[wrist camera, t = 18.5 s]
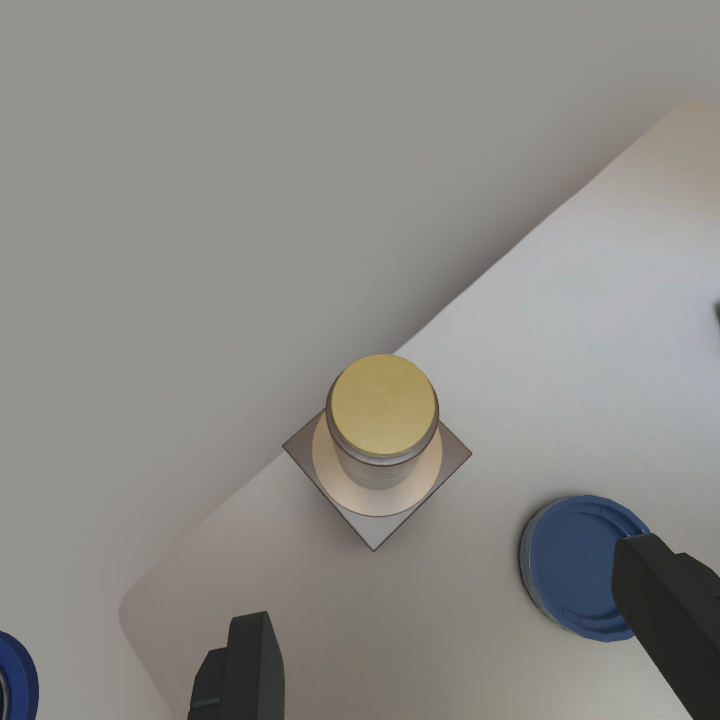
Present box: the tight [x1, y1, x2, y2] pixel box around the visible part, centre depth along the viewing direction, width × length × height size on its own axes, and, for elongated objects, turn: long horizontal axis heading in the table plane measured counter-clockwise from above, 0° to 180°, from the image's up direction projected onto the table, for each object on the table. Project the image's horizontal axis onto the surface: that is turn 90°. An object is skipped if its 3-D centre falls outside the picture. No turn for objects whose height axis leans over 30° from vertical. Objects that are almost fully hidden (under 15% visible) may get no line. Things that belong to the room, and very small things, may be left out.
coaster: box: [312, 412, 443, 517], centre depth 29 cm, size 8×8×1 cm
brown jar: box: [325, 354, 439, 490], centre depth 24 cm, size 5×5×10 cm
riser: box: [282, 407, 472, 552], centre depth 38 cm, size 8×8×19 cm
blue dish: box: [519, 495, 651, 642], centre depth 42 cm, size 11×11×4 cm
